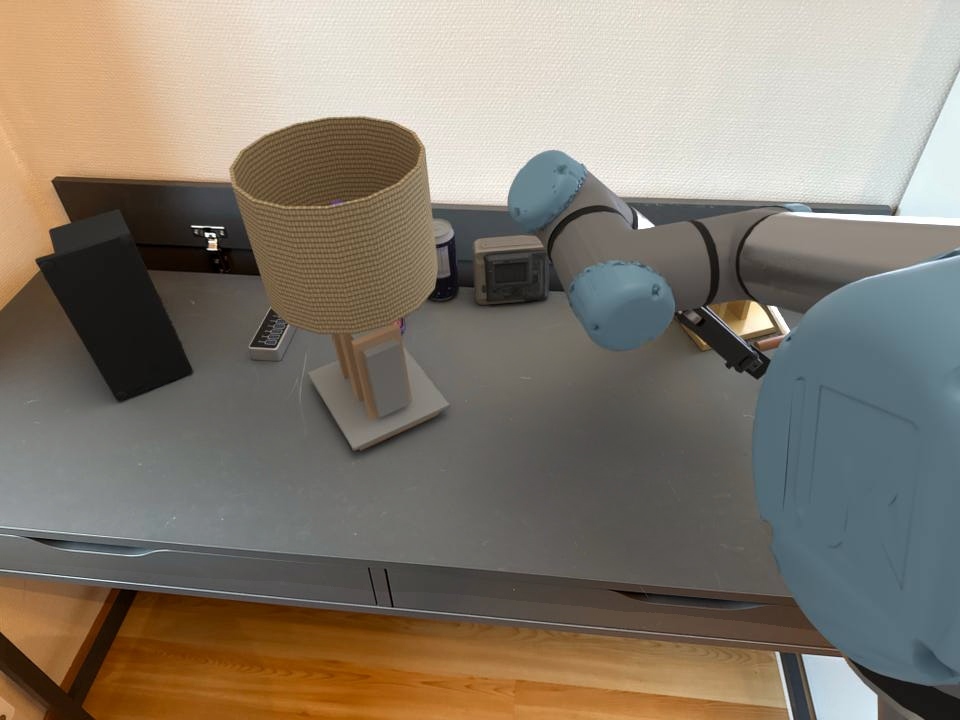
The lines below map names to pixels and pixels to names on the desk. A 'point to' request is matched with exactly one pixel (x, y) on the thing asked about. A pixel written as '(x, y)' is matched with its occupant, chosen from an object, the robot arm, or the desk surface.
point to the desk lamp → (347, 258)
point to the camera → (510, 269)
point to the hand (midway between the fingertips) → (732, 333)
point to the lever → (779, 327)
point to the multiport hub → (271, 338)
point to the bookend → (113, 304)
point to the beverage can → (445, 261)
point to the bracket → (738, 320)
